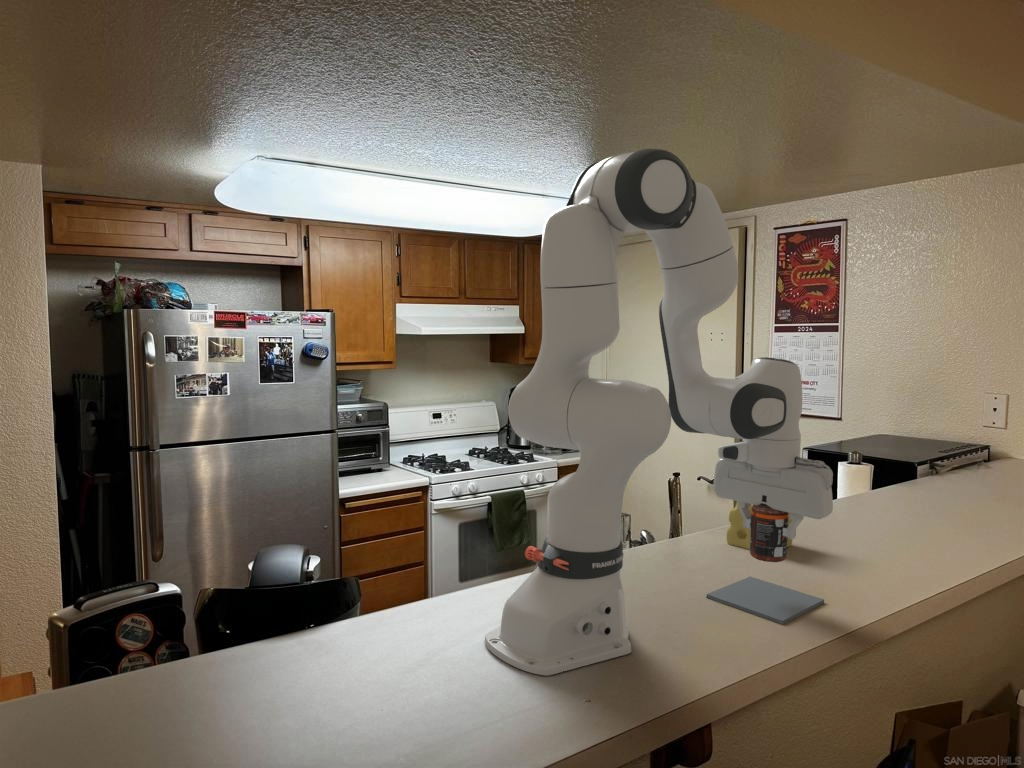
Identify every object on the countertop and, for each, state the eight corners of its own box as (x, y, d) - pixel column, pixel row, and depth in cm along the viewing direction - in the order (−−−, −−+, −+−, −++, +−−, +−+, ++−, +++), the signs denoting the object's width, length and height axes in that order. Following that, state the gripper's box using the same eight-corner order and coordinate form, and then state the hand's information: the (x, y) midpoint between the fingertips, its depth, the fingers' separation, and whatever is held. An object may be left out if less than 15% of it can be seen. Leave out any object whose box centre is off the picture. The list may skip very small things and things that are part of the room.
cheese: (725, 544, 149) (727, 499, 149) (751, 535, 156) (753, 492, 156) (770, 556, 142) (772, 509, 141) (795, 546, 149) (797, 501, 148)
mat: (782, 624, 108) (782, 620, 108) (706, 597, 119) (706, 594, 119) (824, 602, 117) (824, 599, 117) (750, 579, 128) (750, 576, 128)
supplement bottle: (789, 564, 114) (792, 498, 113) (752, 562, 115) (754, 496, 114) (783, 553, 120) (785, 489, 119) (747, 550, 121) (749, 488, 120)
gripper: (842, 460, 110) (838, 544, 111) (729, 443, 126) (727, 516, 127) (823, 465, 106) (819, 552, 107) (710, 446, 122) (707, 522, 123)
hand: (768, 532), depth 117 cm, fingers closed on supplement bottle, 6 cm apart
